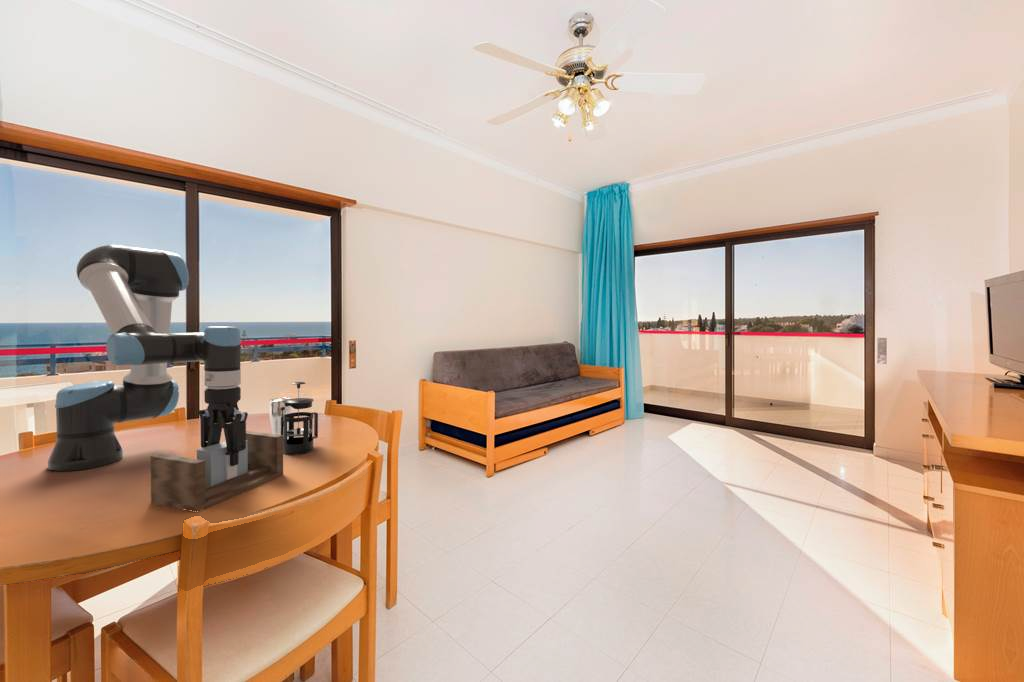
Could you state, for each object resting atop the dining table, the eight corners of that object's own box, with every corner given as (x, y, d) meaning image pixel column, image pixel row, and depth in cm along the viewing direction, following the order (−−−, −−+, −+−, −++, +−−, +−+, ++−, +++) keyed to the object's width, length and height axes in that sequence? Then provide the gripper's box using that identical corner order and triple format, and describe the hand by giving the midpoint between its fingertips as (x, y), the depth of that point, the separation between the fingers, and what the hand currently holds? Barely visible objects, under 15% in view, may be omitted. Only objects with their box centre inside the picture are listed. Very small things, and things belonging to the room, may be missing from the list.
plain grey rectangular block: (197, 489, 99) (196, 449, 99) (234, 475, 109) (234, 438, 109) (211, 491, 98) (210, 451, 98) (247, 477, 108) (247, 440, 108)
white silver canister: (264, 442, 142) (264, 400, 141) (279, 437, 148) (279, 397, 148) (282, 444, 140) (282, 401, 140) (295, 438, 147) (296, 398, 147)
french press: (290, 457, 127) (290, 385, 126) (274, 451, 132) (274, 382, 131) (324, 448, 137) (324, 381, 136) (308, 443, 142) (308, 378, 141)
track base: (151, 503, 94) (150, 456, 94) (243, 468, 117) (243, 430, 117) (196, 512, 90) (196, 463, 90) (283, 474, 114) (283, 435, 113)
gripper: (181, 386, 101) (182, 477, 102) (236, 391, 97) (236, 486, 98) (210, 382, 109) (211, 467, 110) (263, 386, 104) (263, 475, 105)
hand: (223, 476), depth 104 cm, fingers closed on plain grey rectangular block, 4 cm apart
